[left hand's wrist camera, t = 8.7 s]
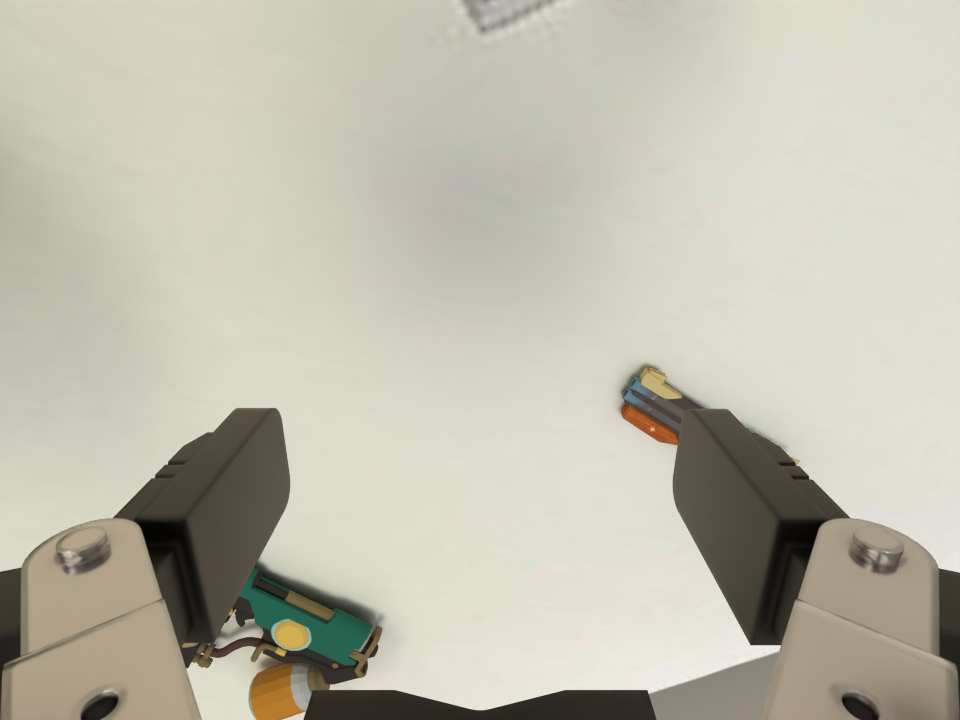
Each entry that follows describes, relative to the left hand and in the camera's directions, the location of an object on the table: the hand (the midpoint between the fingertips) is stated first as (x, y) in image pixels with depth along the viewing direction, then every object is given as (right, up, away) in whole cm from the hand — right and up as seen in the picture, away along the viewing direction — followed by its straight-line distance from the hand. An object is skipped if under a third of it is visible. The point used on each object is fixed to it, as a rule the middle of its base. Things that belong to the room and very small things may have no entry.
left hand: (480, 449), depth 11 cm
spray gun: (-18, -21, +38) cm, 47 cm away
